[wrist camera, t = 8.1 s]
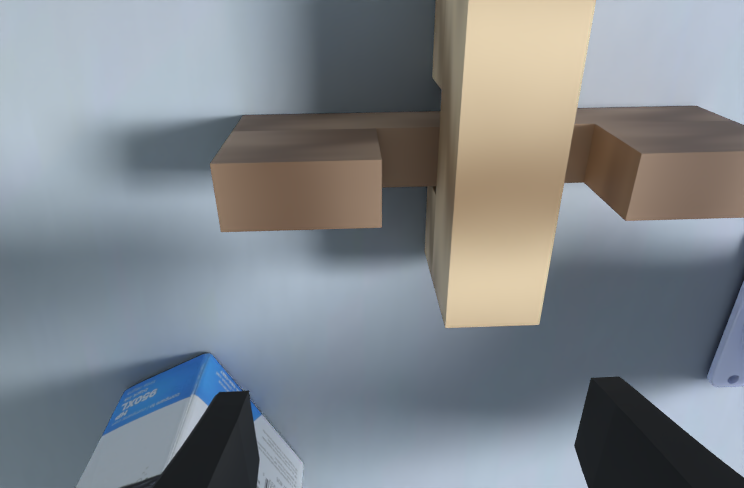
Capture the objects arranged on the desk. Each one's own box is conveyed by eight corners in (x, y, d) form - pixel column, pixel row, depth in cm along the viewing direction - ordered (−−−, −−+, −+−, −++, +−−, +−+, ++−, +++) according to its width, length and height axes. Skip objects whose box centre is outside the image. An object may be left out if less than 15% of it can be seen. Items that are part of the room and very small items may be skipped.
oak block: (436, -31, 16) (470, -29, 12) (532, -32, 16) (601, -31, 12) (424, 251, 21) (445, 327, 17) (498, 249, 21) (539, 324, 17)
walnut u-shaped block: (696, 105, 19) (804, 149, 14) (681, 159, 20) (778, 216, 15) (242, 115, 18) (209, 163, 14) (250, 170, 19) (220, 232, 15)
